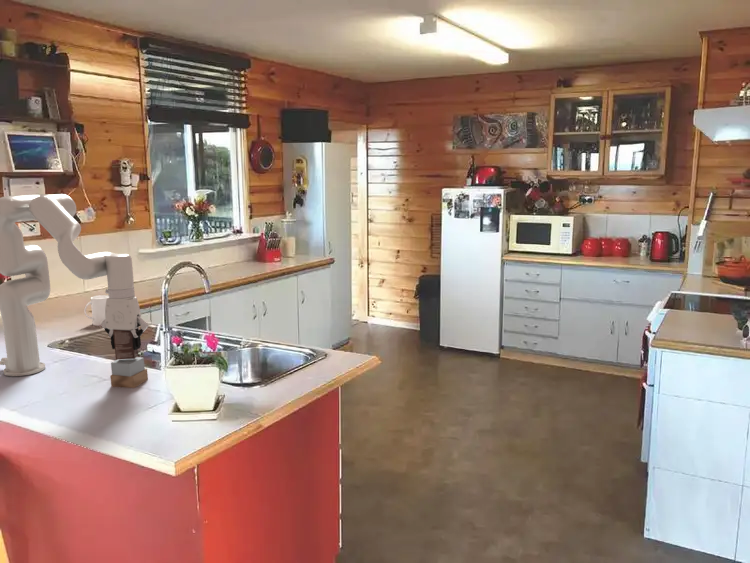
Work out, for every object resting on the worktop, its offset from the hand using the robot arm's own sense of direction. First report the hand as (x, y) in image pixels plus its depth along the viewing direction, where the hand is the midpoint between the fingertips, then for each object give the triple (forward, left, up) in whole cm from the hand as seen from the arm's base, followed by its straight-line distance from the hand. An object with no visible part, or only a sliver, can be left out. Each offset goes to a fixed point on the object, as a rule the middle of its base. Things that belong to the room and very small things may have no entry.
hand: (126, 347), depth 201 cm
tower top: (0, 0, -8) cm, 8 cm away
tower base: (0, 0, -12) cm, 12 cm away
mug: (-56, +68, -12) cm, 89 cm away
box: (0, 0, -3) cm, 3 cm away
